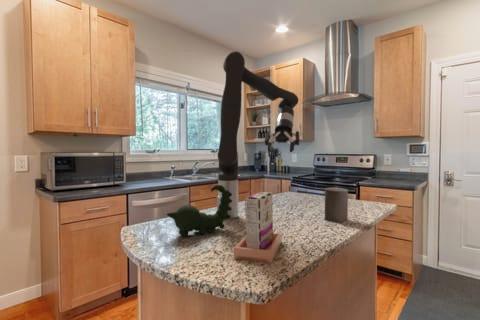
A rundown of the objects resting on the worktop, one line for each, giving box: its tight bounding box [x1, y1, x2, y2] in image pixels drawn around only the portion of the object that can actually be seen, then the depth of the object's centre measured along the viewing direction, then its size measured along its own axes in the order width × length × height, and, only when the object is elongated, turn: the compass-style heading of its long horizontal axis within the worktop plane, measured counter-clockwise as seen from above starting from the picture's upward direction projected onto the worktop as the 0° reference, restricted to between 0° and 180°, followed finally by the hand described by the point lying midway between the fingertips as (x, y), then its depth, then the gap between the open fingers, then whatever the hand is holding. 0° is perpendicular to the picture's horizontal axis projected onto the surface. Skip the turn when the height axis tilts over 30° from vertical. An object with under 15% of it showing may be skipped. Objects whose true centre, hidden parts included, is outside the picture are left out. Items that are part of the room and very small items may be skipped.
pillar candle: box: [324, 187, 349, 223], centre depth 117 cm, size 10×10×15 cm
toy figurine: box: [166, 184, 232, 238], centre depth 99 cm, size 9×19×25 cm
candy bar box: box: [244, 191, 274, 250], centre depth 82 cm, size 11×5×16 cm, turn 154°
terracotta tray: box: [233, 232, 283, 263], centre depth 82 cm, size 11×17×3 cm, turn 162°
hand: (280, 150), depth 107 cm, fingers open, 8 cm apart
